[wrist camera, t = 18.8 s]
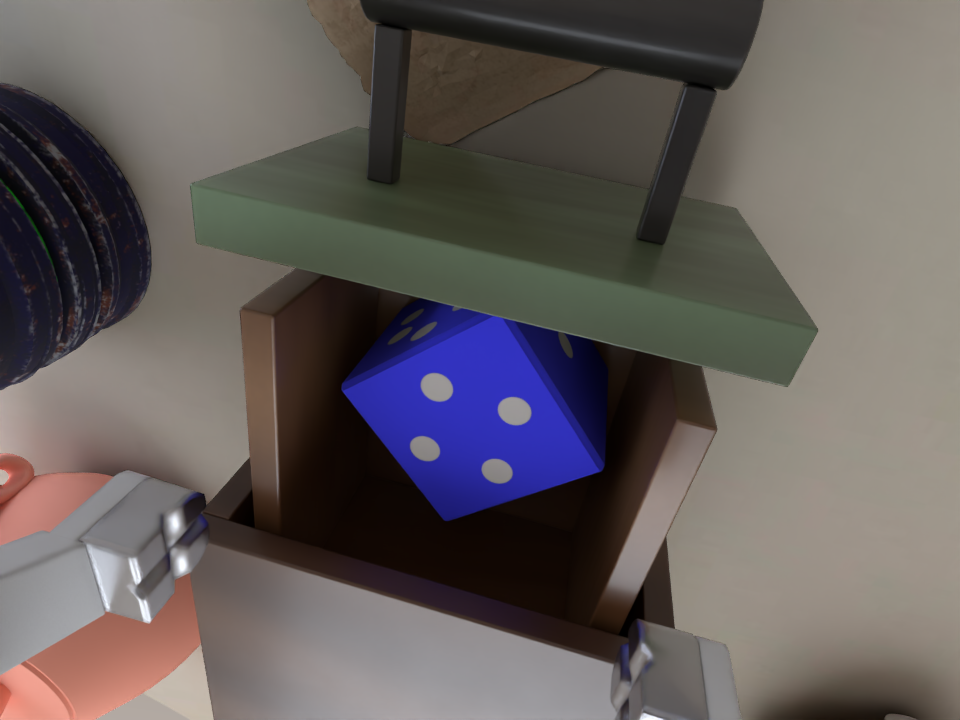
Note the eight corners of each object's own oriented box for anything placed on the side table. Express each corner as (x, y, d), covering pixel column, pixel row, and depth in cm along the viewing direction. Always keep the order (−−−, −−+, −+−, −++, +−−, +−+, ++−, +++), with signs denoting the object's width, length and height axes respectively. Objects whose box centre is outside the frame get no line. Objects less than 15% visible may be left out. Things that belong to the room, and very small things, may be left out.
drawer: (363, -61, 15) (153, -141, 8) (812, 19, 14) (996, 4, 7) (341, 460, 24) (235, 621, 17) (606, 534, 23) (600, 736, 16)
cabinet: (340, 353, 22) (181, 533, 14) (657, 434, 21) (680, 683, 13) (332, 586, 30) (224, 791, 22) (565, 656, 29) (543, 902, 21)
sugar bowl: (131, 616, 36) (-25, 800, 27) (-27, 441, 30) (-284, 602, 22) (283, 600, 32) (155, 814, 23) (131, 394, 26) (-113, 572, 17)
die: (610, 370, 18) (607, 472, 14) (481, 423, 20) (443, 526, 16) (532, 235, 16) (501, 305, 12) (400, 308, 19) (335, 388, 14)
